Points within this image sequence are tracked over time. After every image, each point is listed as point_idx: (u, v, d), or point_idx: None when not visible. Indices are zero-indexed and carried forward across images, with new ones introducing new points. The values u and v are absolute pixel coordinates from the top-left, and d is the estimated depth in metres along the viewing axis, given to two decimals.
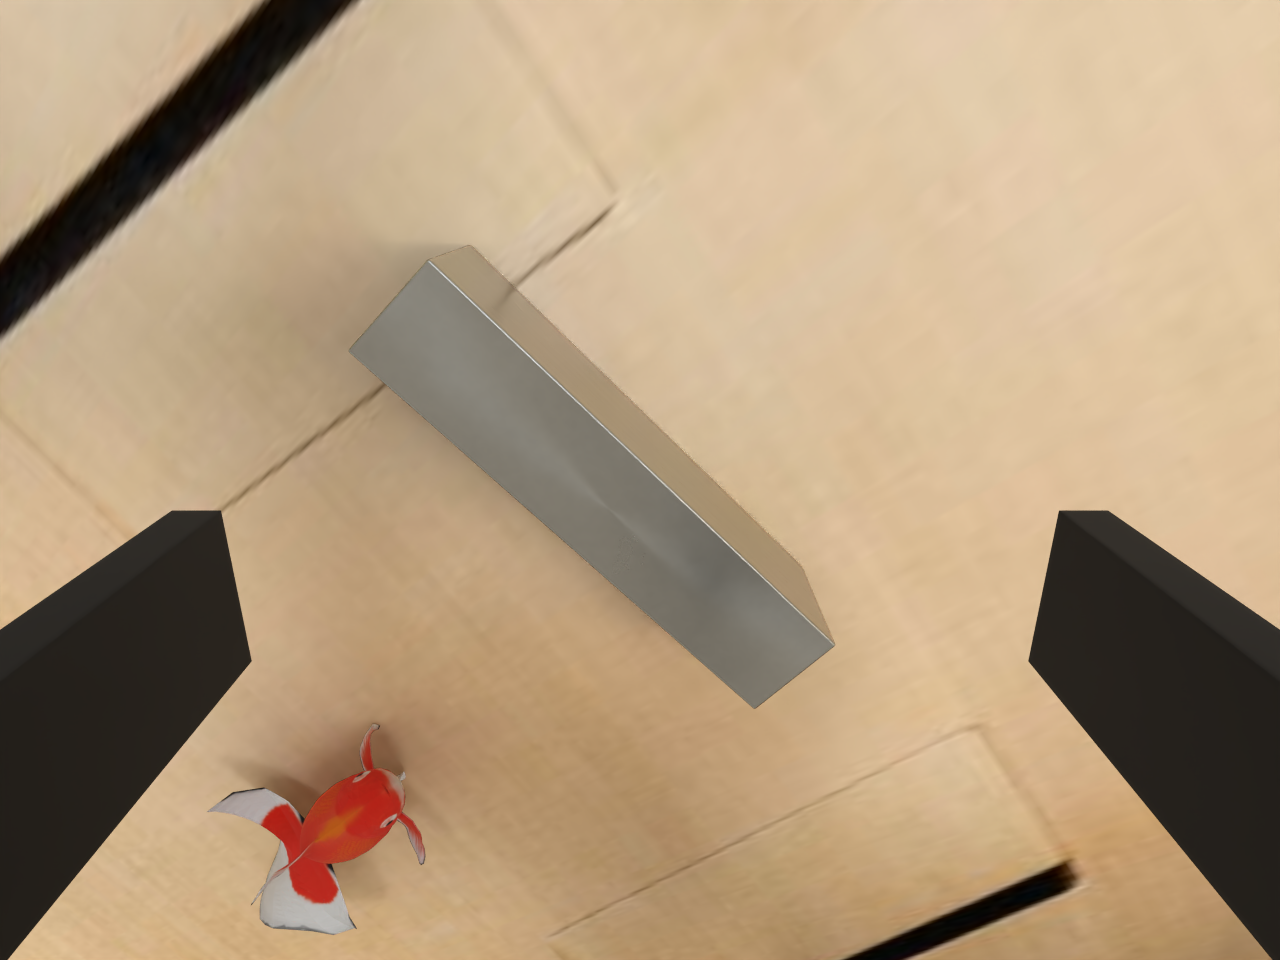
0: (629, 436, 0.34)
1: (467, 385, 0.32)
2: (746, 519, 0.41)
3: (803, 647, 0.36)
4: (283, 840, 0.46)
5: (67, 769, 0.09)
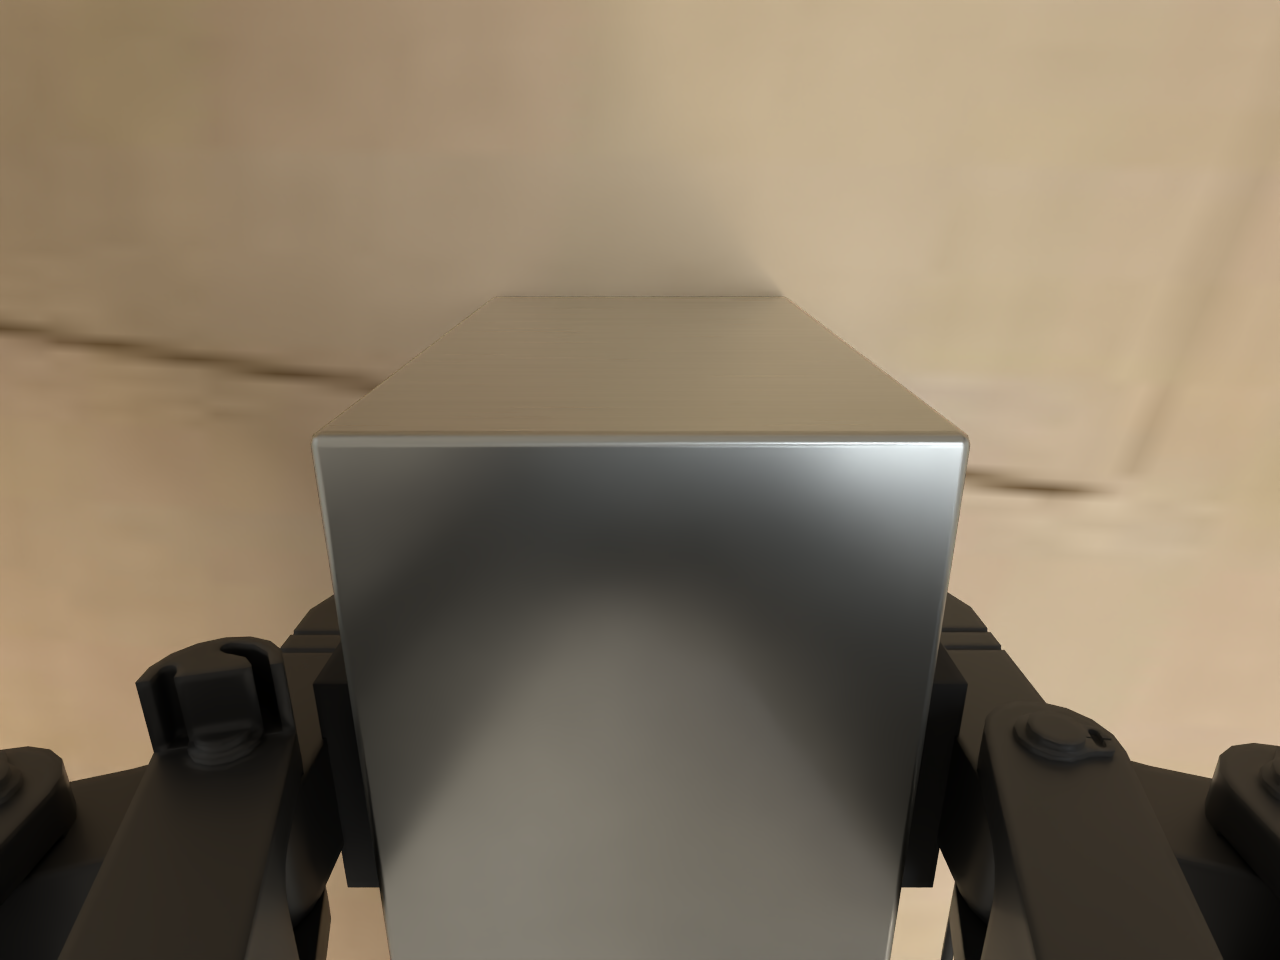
0: None
1: (618, 870, 0.07)
2: None
3: None
4: None
5: None
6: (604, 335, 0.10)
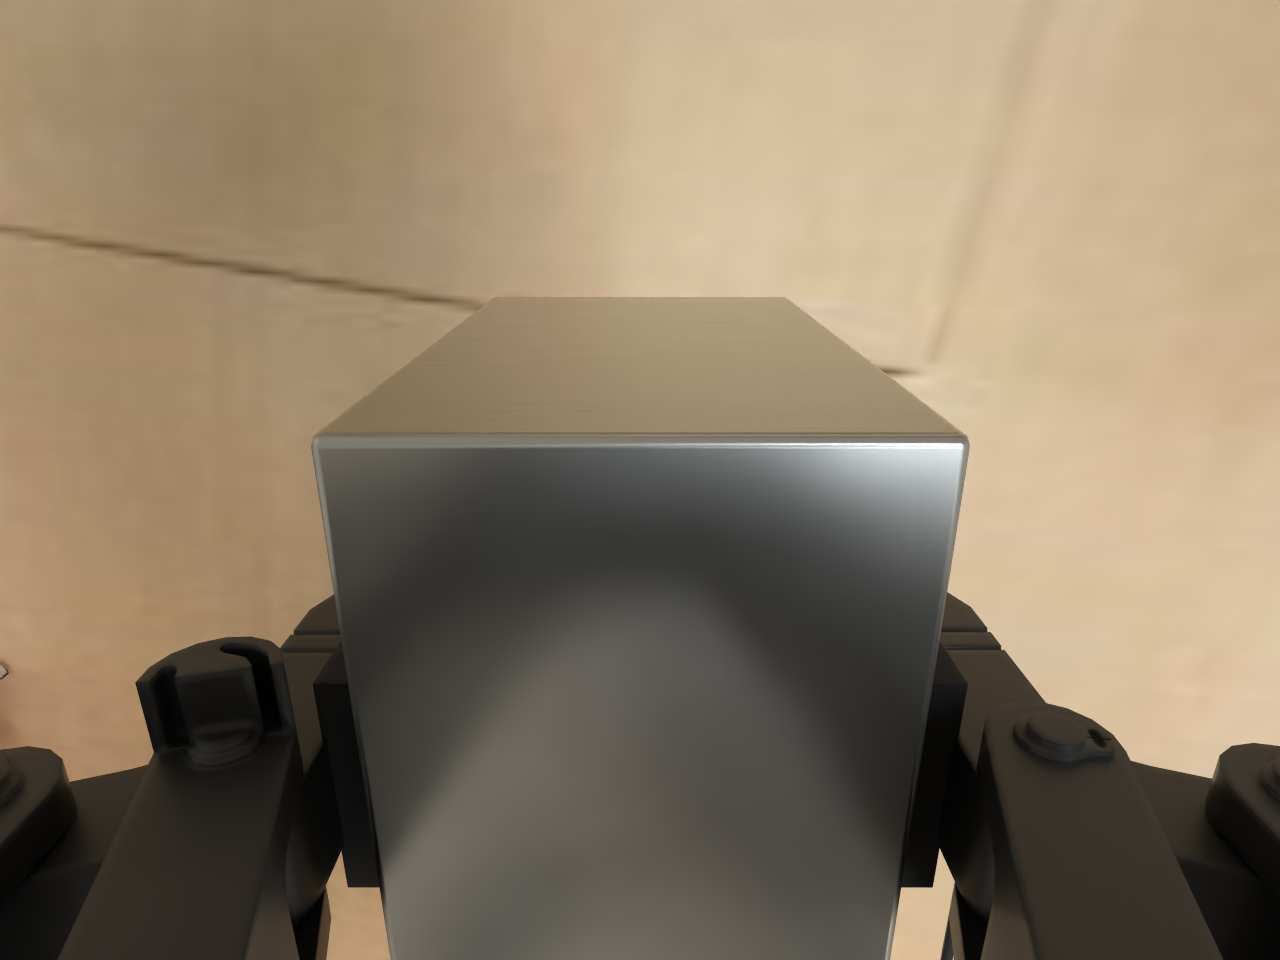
0: None
1: (618, 870, 0.07)
2: None
3: None
4: None
5: None
6: (604, 336, 0.10)
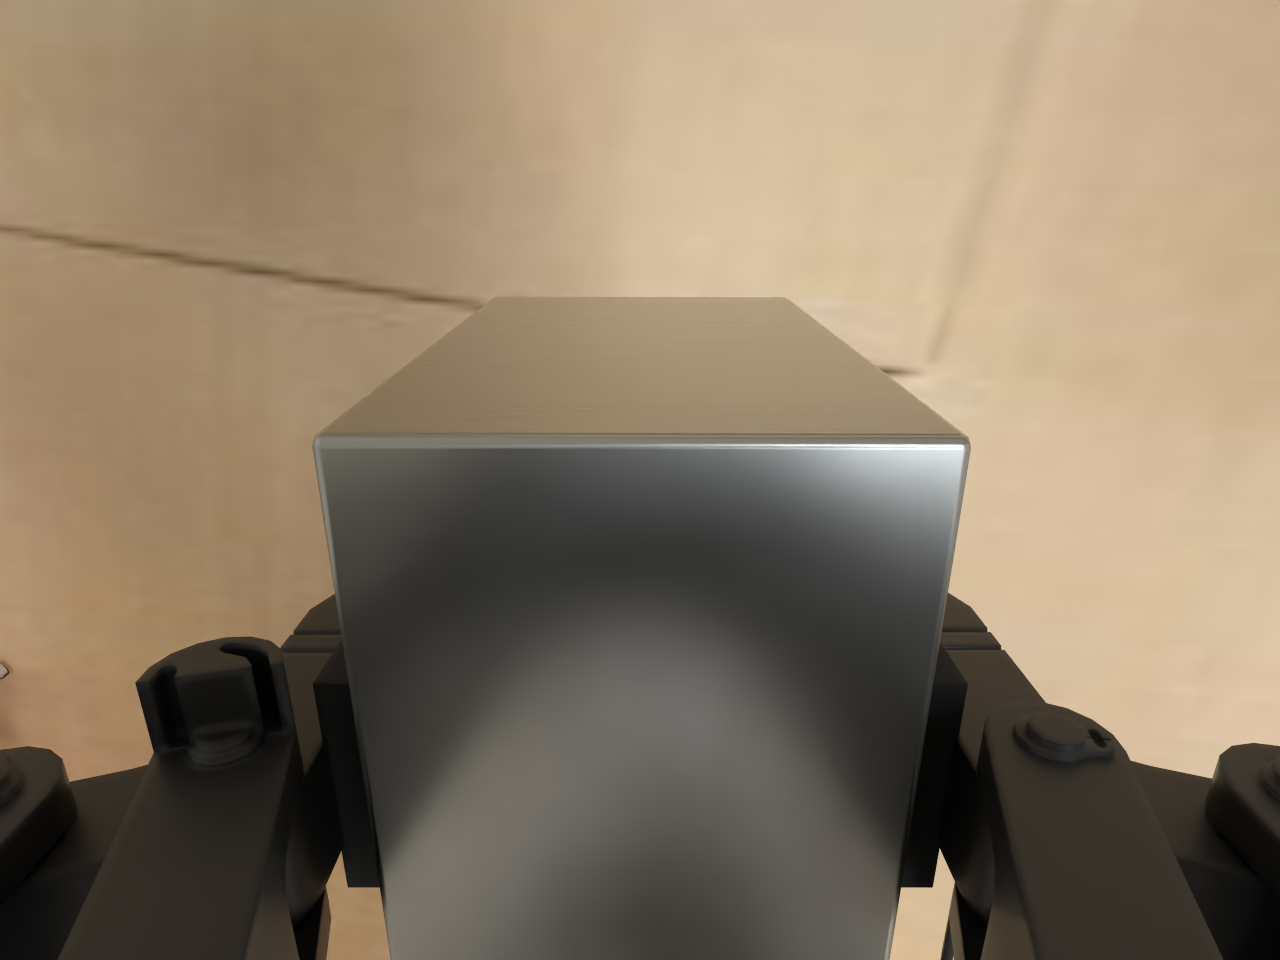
0: None
1: (619, 870, 0.07)
2: None
3: None
4: None
5: None
6: (605, 336, 0.10)
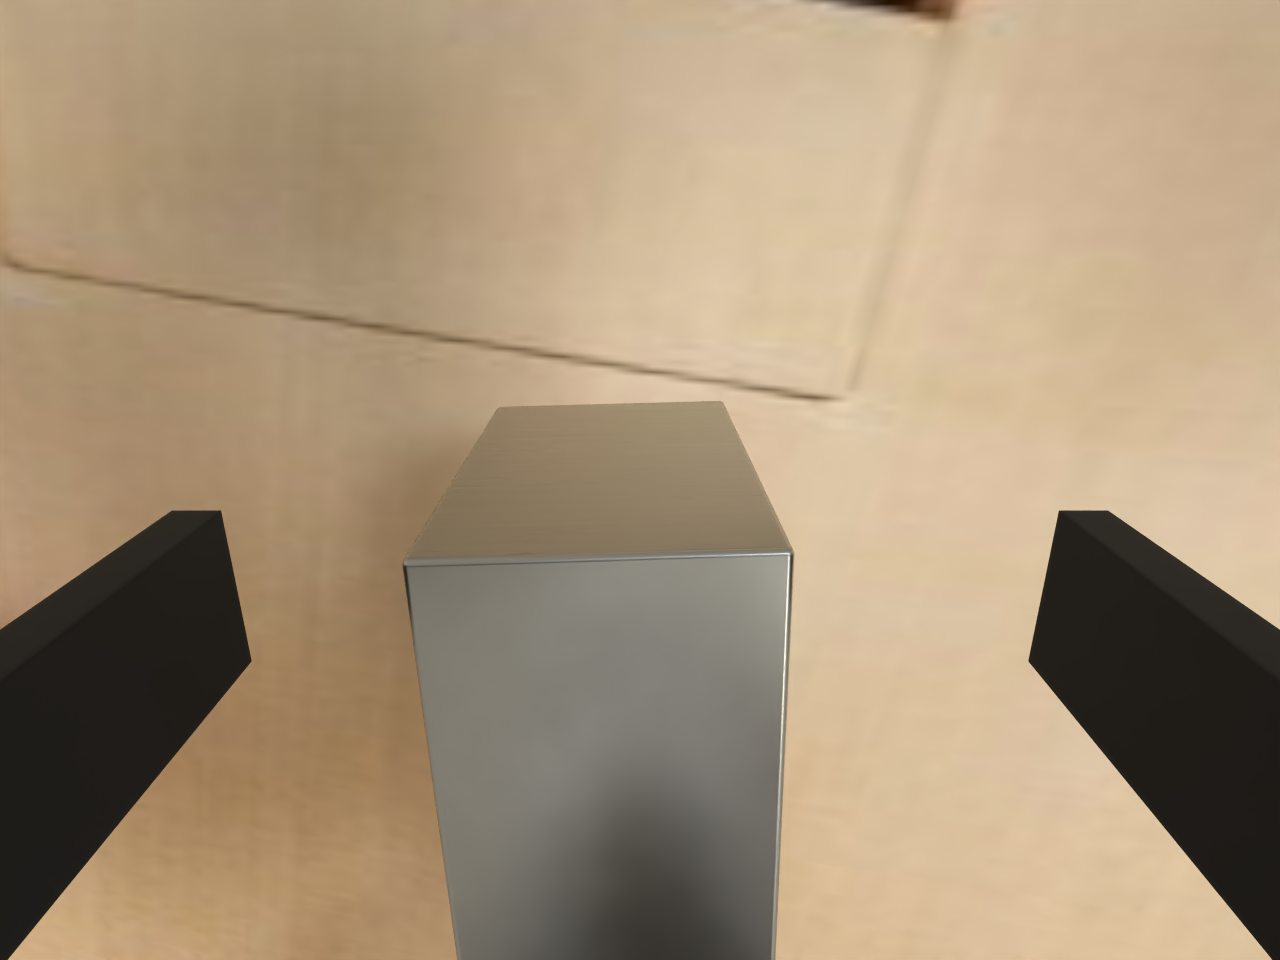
0: None
1: (596, 823, 0.11)
2: None
3: None
4: None
5: (67, 769, 0.09)
6: (581, 455, 0.14)
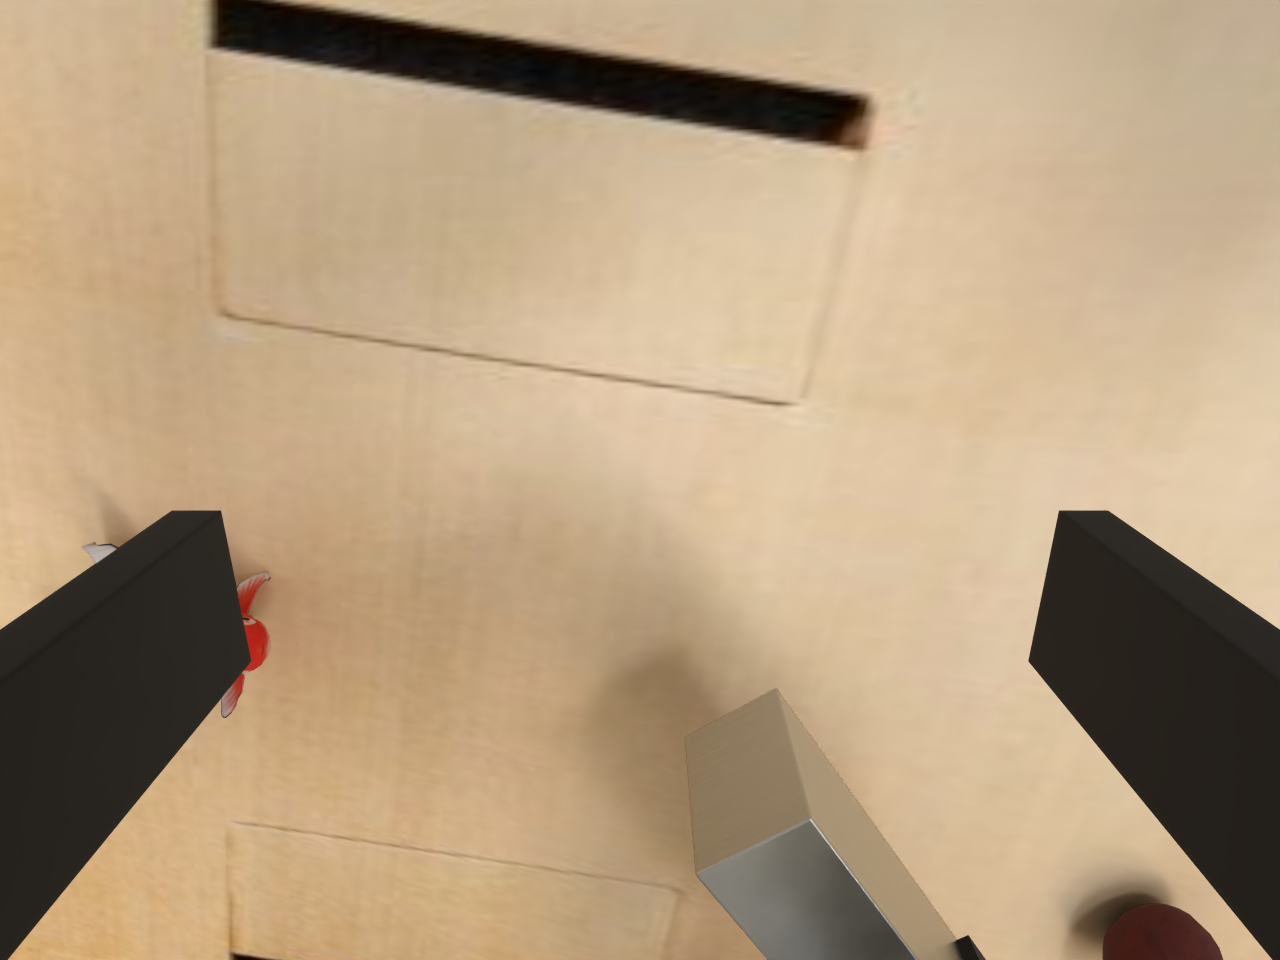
0: (925, 950, 0.34)
1: (803, 919, 0.31)
2: None
3: None
4: None
5: (66, 769, 0.09)
6: (730, 773, 0.33)
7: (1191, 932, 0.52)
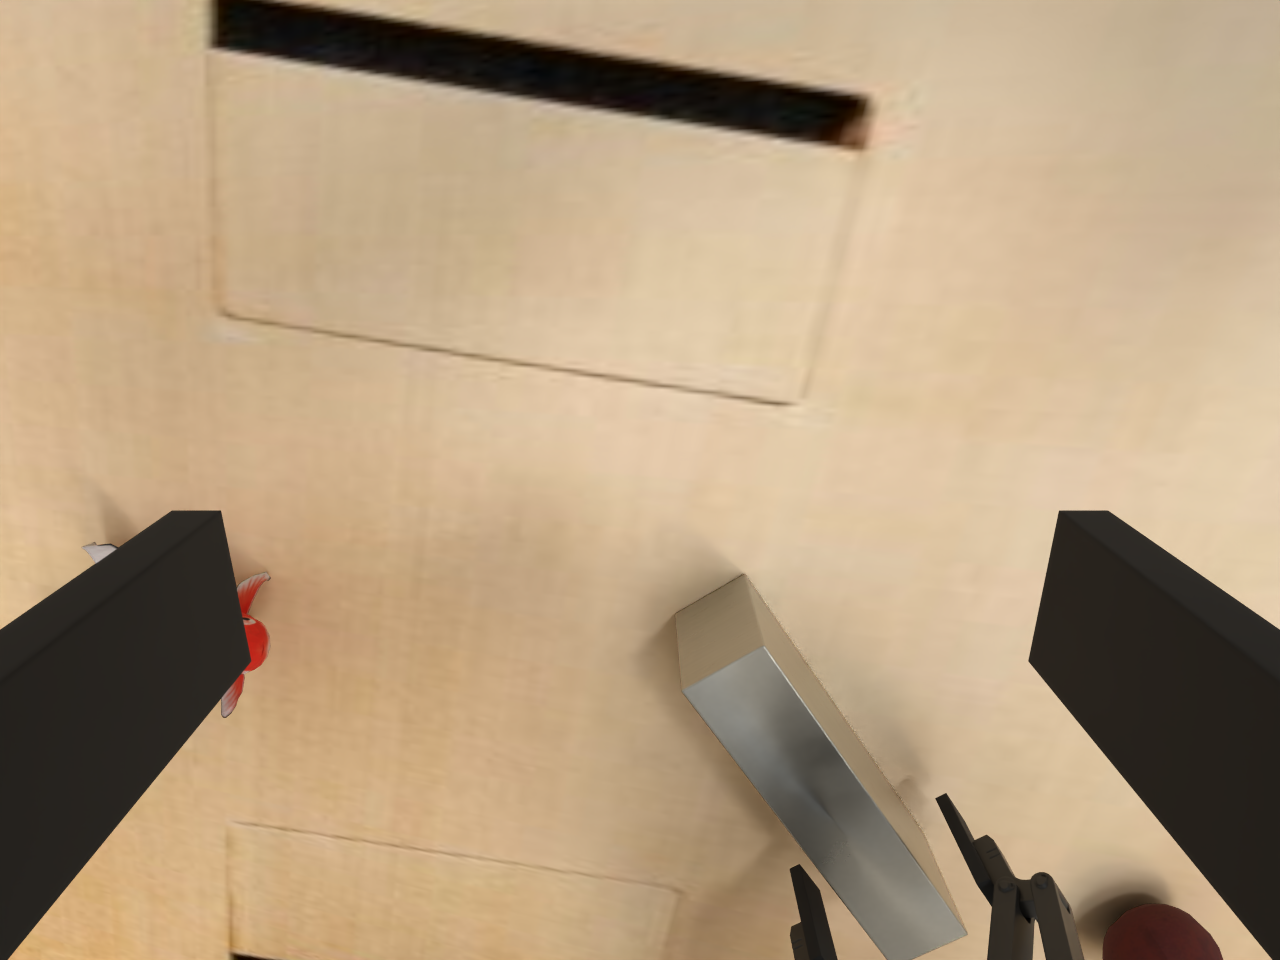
0: (855, 764, 0.45)
1: (761, 727, 0.42)
2: (897, 801, 0.52)
3: (944, 932, 0.47)
4: None
5: (66, 769, 0.09)
6: (708, 630, 0.45)
7: (1191, 932, 0.52)
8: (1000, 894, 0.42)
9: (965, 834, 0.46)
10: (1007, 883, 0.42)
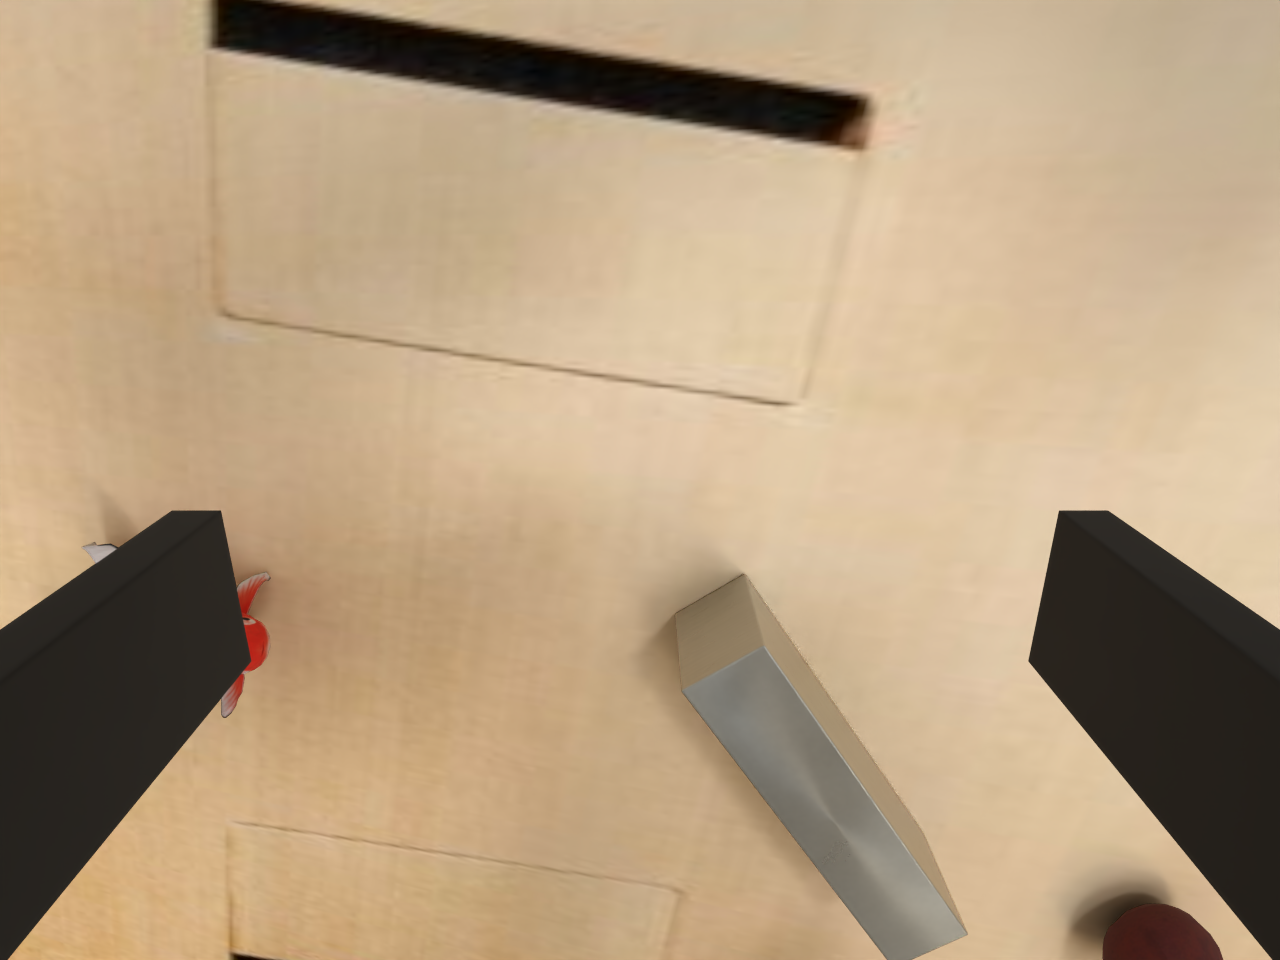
0: (855, 764, 0.45)
1: (761, 727, 0.42)
2: (897, 801, 0.52)
3: (944, 932, 0.47)
4: None
5: (66, 769, 0.09)
6: (708, 630, 0.45)
7: (1191, 932, 0.52)
8: None
9: None
10: None
